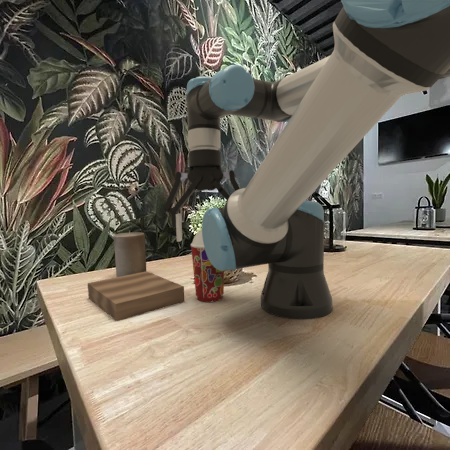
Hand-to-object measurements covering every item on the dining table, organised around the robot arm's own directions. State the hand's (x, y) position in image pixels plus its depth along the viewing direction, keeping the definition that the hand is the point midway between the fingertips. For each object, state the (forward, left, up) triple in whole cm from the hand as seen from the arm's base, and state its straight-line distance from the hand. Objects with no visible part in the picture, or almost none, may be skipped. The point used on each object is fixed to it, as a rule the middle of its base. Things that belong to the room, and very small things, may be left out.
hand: (207, 240), depth 69 cm
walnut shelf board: (+12, +14, -15) cm, 23 cm away
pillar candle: (+36, +5, -15) cm, 39 cm away
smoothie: (0, 0, -15) cm, 15 cm away
